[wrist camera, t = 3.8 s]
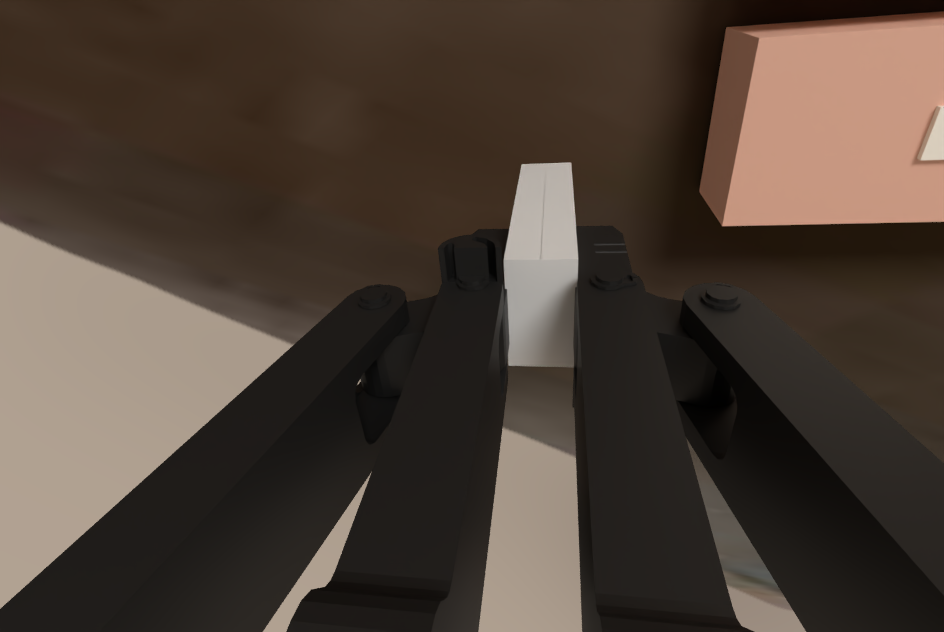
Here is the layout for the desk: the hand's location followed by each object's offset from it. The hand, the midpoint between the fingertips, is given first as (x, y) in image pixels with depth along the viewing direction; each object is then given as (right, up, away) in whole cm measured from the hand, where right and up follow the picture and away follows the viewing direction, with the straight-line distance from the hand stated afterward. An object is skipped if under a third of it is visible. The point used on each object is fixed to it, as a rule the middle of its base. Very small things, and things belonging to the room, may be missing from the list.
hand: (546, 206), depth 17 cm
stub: (+13, +4, +3) cm, 14 cm away
